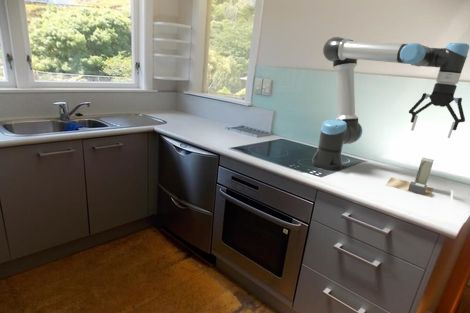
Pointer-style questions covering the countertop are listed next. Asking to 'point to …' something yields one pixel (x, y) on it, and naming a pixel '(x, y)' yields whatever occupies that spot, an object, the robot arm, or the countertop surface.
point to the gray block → (417, 188)
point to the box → (424, 171)
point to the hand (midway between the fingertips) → (429, 133)
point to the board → (406, 186)
